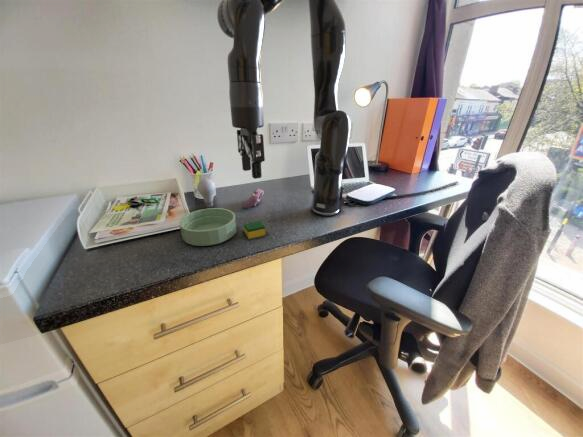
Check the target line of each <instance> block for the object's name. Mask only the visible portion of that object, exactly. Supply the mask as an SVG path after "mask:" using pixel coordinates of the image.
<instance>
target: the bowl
mask: <svg viewBox="0 0 583 437" xmlns="http://www.w3.org/2000/svg"><path fill="white" fill-rule="evenodd" d="M178 224H179V230H180V233H181V239H182V240H183V241H184V242H185V243H186V244H189V245H190V246H191V245H192V246H197V247H204V246H206V247H207V246H214V245H218V244H222V243H224V242H226V241H228V240H230V239H231V238H232V237H234V236H235V234H236V233H237V229H238V227H237V218H236V214H235V212H234V211H232V210H230V209H226V208H223V207H220V208H219V207H211V208H208V207H207V208H203V209H198V210H194V211H191V212H189V213H187V214H185V215H184V216H182V217H181V218H180V220H179V221H178Z"/></svg>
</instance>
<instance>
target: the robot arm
mask: <svg viewBox="0 0 583 437" xmlns="http://www.w3.org/2000/svg"><path fill="white" fill-rule="evenodd" d="M284 1H285V0H220V2H219V3H218V7H217V12H216V18H217V23H218V26H219V28H220V30H221V31H222V33H223V34H224V35H225V36H226V37H228V38H230V39H233V44H232V48H231V50H230V51H229V52H228V54H227V61H226V62H227V74H228V88H229V91H228V95H229V96H228V97H229V106H230V118H231V125H232V127H233V128H234V129H236V139H237V141H236V142H237V152H238V154H239V155H240V157H241V165H242V166H241V168H242V171H245V172H248V171H251V177H252V178H253V179H256V180H257V179H261V178H262V177H263V174H262V163H263V162H265V160H266V157H265V145H264V143H265V142H264V135H263V134H261V133H260V134H258V129H261V128H263V127H264V125H265V119H264V118H265V116H264V95H263V88H262V78H261V77H262V74H261V57H262V52H263V45H264V39H265V38H264V37H265V30H266V15H268V14H270V13H272V12H273V11H275V10H276V9H277V8H278V7H280V5H281V4H282V3H283V2H284ZM308 10H309V11H308V12H309V25H310V51H311V62H312V80H313V91H314V92H313V93H314V96H313V97H314V100H313V103H314V104H313V130H314V133H315V135H316V136H317V137H318V138H319V139H320V145H319V149H318V152H317V153H316V154H315V158H314V175H313V176H314V177H313V178H314V179H313V198H312V199H313V200H312V212H313V213H314V214H316V215H319V216H322V217H323V216H324V217H333V216H336V215H338V214H339V213H340V212H342V206H344V205H345V203H346V205H347V206H349V207H353V206H355V205H357V204H358V203H357V202H353V203H350V200H348V199H347V198H346V197H345V196H343V195H344V194H343V193H344V186H343V184H342V181H343V170H344V163H345V158H346V156H347V154H348V148H349V142H350V136H351V119H350V117H349V115H348V114H347V113H346V112H345V111H343V110H341V109H339V108H338V87H339V82H340V79H341V75H342V71H343V68H344V64H345V58H346V35H347V34H346V23H345V19H344V17H343V14H342V11H341V10H340V8H339V6H338V4H337V1H336V0H308ZM458 183H459V181H454V182H451V183H447V184H445V185H442V186H440V187H439V186H438V187H435V188H431V189H428V190H423V191H417V192H411V193H404V194H395V195H390V196H386V197H385V198H384V199H383V200H385V199H386V200H387V199H395V198H404V197H411V196H417V195H423V194H428V193H431V192H435V191H439V190H442V189H446V188H448V187H450V186H453V185H456V184H458Z"/></svg>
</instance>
